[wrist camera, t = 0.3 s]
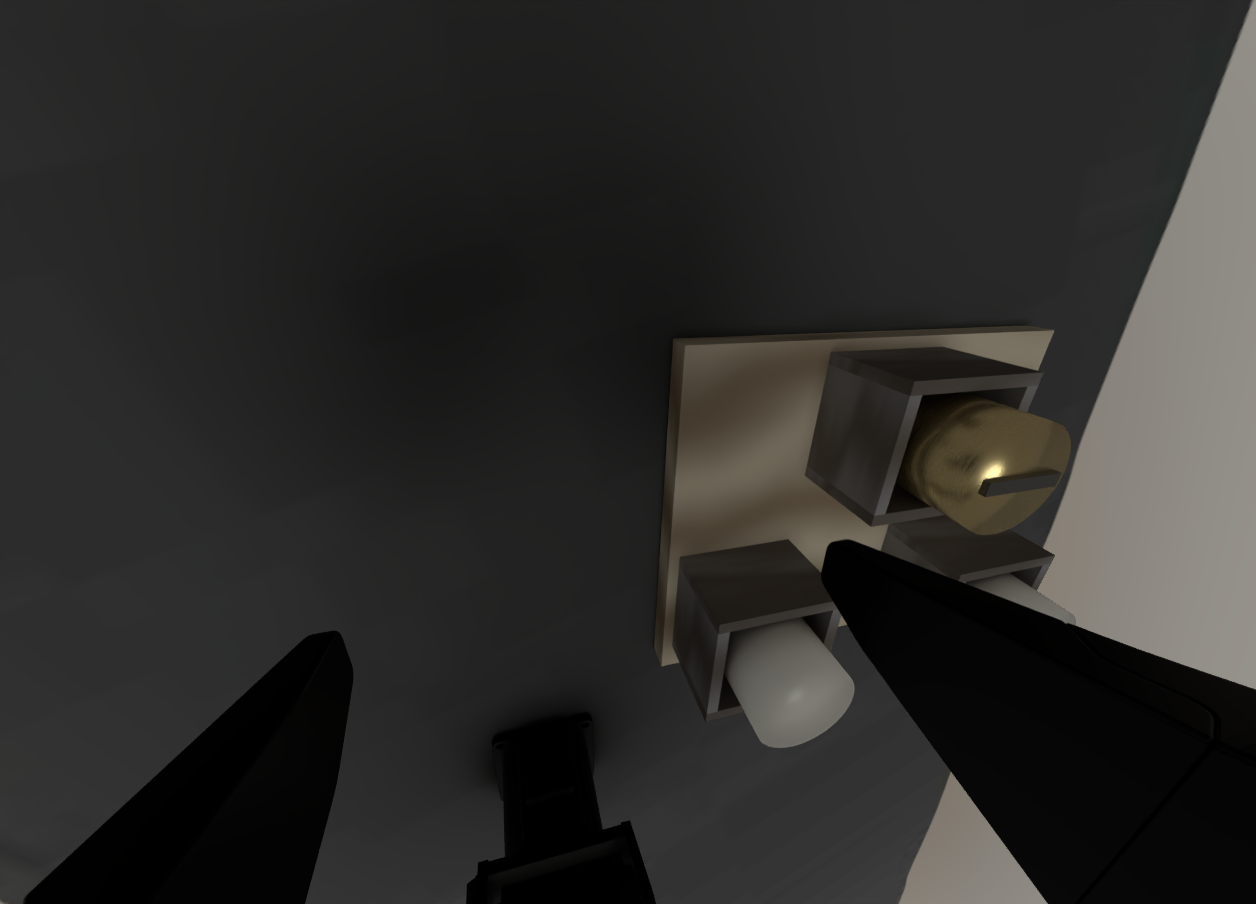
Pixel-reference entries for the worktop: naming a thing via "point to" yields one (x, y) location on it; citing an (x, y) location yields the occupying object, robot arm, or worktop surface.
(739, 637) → the knob front
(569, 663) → the worktop surface
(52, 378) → the worktop surface
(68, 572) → the worktop surface
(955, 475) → the brass dial
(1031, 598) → the knob back
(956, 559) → the mount
